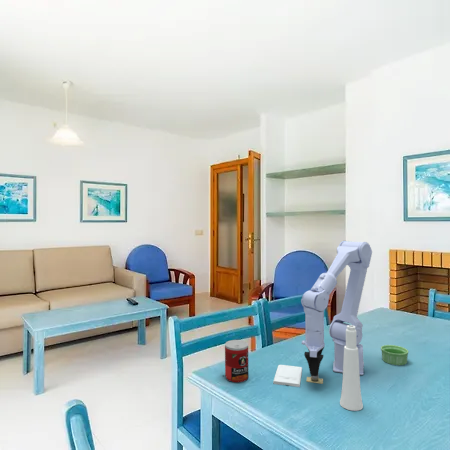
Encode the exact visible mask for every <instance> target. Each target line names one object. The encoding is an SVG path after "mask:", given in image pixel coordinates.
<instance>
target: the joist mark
mask: <svg viewBox="0 0 450 450" xmlns="http://www.w3.org/2000/svg"><path fill="white" fill-rule="evenodd" d="M305 381H306V383H307V382H308V383H315V384H322V385H323V384H324V378H320V377H319V381H317V382H314V381H311V376H306V380H305Z"/></svg>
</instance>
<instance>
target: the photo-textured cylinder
mask: <svg viewBox="0 0 450 450" xmlns="http://www.w3.org/2000/svg"><path fill="white" fill-rule="evenodd" d="M319 374H320V373H318V376H311V375H310V377H311V381H314V382H317V381H319V378H320V377H319Z"/></svg>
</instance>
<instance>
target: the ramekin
mask: <svg viewBox="0 0 450 450" xmlns="http://www.w3.org/2000/svg"><path fill="white" fill-rule="evenodd" d="M380 350H381V358H382V361H383V362H384V363H387V364H389V365H393V366H405V365H406V364H407V363H408V357H409V350H408V349H407V348H405V347H403V346H399V345H394V344H384V345H381V346H380Z"/></svg>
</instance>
